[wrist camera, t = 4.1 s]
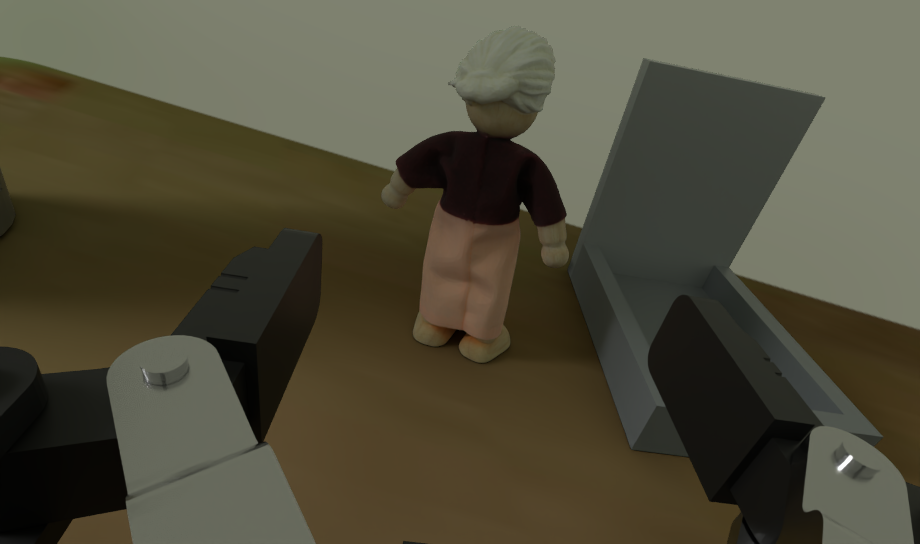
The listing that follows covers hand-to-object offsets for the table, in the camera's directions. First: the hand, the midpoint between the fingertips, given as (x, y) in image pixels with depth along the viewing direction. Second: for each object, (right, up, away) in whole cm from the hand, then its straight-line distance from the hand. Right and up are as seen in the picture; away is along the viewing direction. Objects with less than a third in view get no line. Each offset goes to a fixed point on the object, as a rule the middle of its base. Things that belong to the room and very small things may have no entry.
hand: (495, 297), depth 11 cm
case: (+10, -3, +13) cm, 17 cm away
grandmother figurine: (-1, -2, +11) cm, 11 cm away
